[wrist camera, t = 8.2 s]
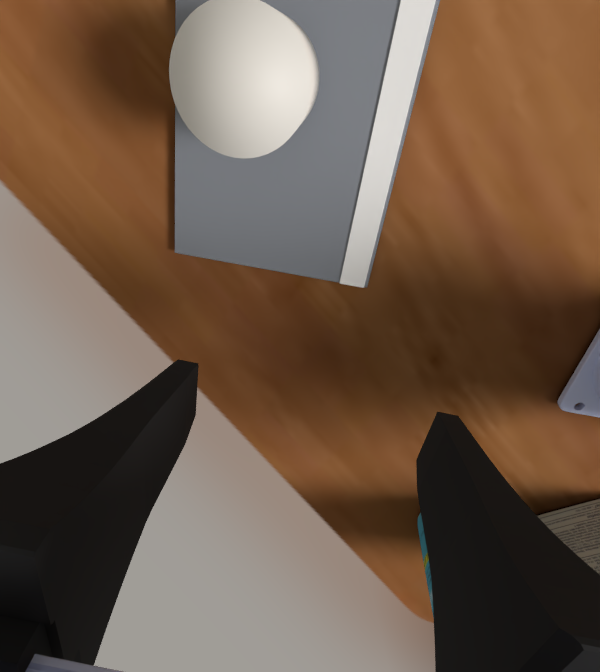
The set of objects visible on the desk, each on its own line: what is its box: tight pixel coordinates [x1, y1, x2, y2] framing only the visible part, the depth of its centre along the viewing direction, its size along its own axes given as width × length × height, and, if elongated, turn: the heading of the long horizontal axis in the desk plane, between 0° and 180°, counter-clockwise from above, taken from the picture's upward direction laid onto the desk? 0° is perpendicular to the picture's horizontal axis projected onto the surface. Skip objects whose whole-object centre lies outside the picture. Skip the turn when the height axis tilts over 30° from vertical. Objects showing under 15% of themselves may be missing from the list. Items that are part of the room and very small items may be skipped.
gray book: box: [175, 0, 440, 288], centre depth 18 cm, size 10×16×1 cm, turn 172°
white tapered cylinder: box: [169, 0, 319, 159], centre depth 16 cm, size 4×4×4 cm
